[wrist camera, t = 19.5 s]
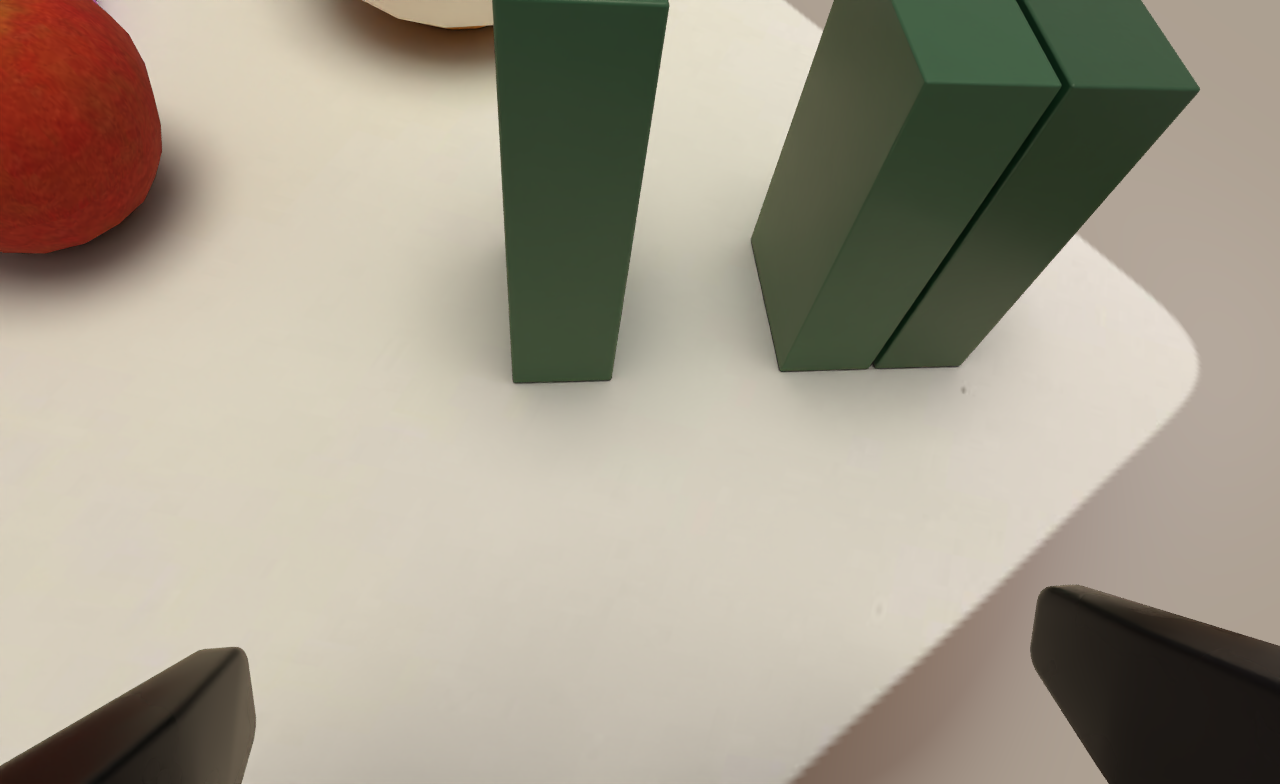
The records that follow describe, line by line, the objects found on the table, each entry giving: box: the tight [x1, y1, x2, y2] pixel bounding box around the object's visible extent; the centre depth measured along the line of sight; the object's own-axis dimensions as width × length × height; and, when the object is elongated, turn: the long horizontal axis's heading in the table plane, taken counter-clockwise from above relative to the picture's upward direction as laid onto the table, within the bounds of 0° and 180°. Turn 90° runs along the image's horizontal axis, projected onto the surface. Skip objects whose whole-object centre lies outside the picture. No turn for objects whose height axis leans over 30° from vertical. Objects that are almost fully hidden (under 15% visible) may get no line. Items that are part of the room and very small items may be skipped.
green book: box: [492, 0, 669, 383], centre depth 20 cm, size 6×3×12 cm, turn 6°
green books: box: [751, 0, 1200, 371], centre depth 22 cm, size 6×6×11 cm
